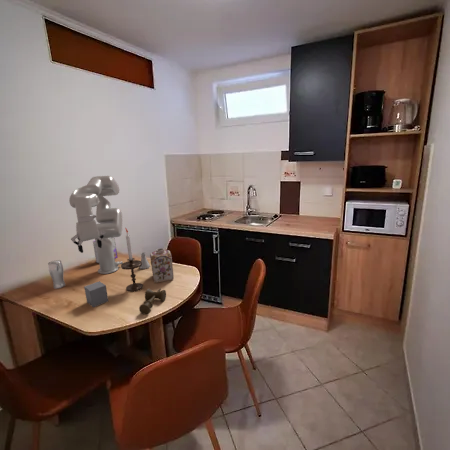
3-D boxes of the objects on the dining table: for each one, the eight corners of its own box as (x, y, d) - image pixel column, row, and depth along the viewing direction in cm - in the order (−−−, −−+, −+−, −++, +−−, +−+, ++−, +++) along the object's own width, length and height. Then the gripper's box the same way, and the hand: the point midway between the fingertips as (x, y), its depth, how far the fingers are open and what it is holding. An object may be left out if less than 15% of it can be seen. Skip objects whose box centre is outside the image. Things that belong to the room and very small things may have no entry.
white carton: (113, 256, 207) (110, 235, 203) (118, 257, 203) (114, 236, 199) (96, 262, 196) (92, 240, 192) (100, 264, 192) (96, 241, 188)
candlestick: (120, 289, 152) (111, 228, 144) (137, 282, 161) (129, 224, 152) (132, 294, 146) (123, 231, 138) (148, 286, 154) (141, 226, 146)
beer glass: (60, 289, 156) (55, 264, 152) (49, 288, 157) (44, 264, 154) (69, 283, 163) (64, 260, 159) (59, 283, 164) (54, 259, 161)
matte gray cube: (102, 296, 145) (99, 281, 143) (108, 301, 140) (105, 285, 138) (87, 302, 140) (84, 286, 138) (93, 307, 135) (90, 291, 133)
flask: (140, 265, 186) (138, 251, 184) (151, 264, 187) (149, 250, 184) (138, 269, 179) (136, 255, 177) (149, 269, 180) (147, 254, 177)
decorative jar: (171, 272, 172) (168, 245, 168) (174, 279, 162) (171, 250, 157) (152, 275, 169) (148, 247, 165) (153, 283, 158) (150, 253, 154)
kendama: (134, 315, 127) (152, 293, 146) (154, 316, 126) (169, 294, 145) (133, 303, 126) (151, 283, 145) (153, 305, 124) (168, 284, 143)
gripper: (99, 215, 153) (103, 244, 157) (65, 221, 141) (71, 252, 145) (104, 216, 148) (109, 246, 152) (70, 223, 136) (76, 255, 140)
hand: (90, 249), depth 149 cm, fingers open, 9 cm apart
